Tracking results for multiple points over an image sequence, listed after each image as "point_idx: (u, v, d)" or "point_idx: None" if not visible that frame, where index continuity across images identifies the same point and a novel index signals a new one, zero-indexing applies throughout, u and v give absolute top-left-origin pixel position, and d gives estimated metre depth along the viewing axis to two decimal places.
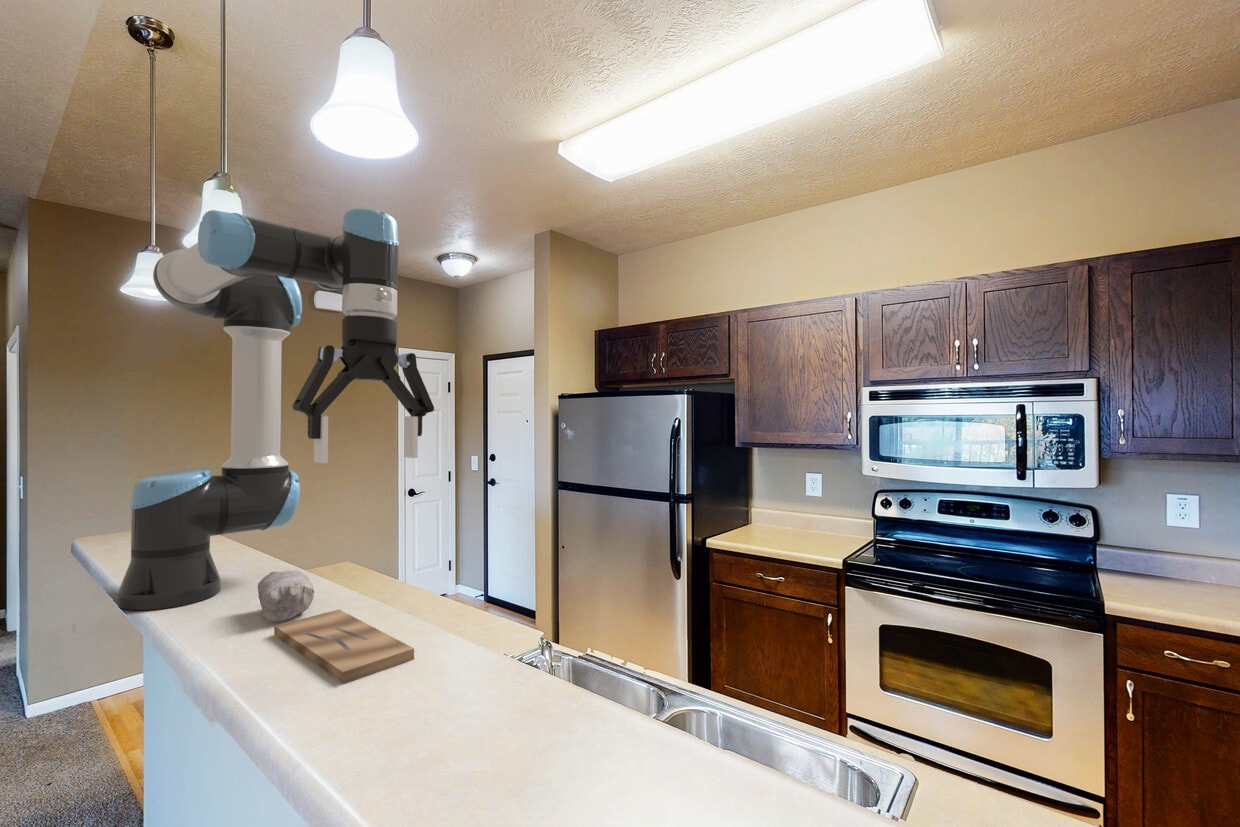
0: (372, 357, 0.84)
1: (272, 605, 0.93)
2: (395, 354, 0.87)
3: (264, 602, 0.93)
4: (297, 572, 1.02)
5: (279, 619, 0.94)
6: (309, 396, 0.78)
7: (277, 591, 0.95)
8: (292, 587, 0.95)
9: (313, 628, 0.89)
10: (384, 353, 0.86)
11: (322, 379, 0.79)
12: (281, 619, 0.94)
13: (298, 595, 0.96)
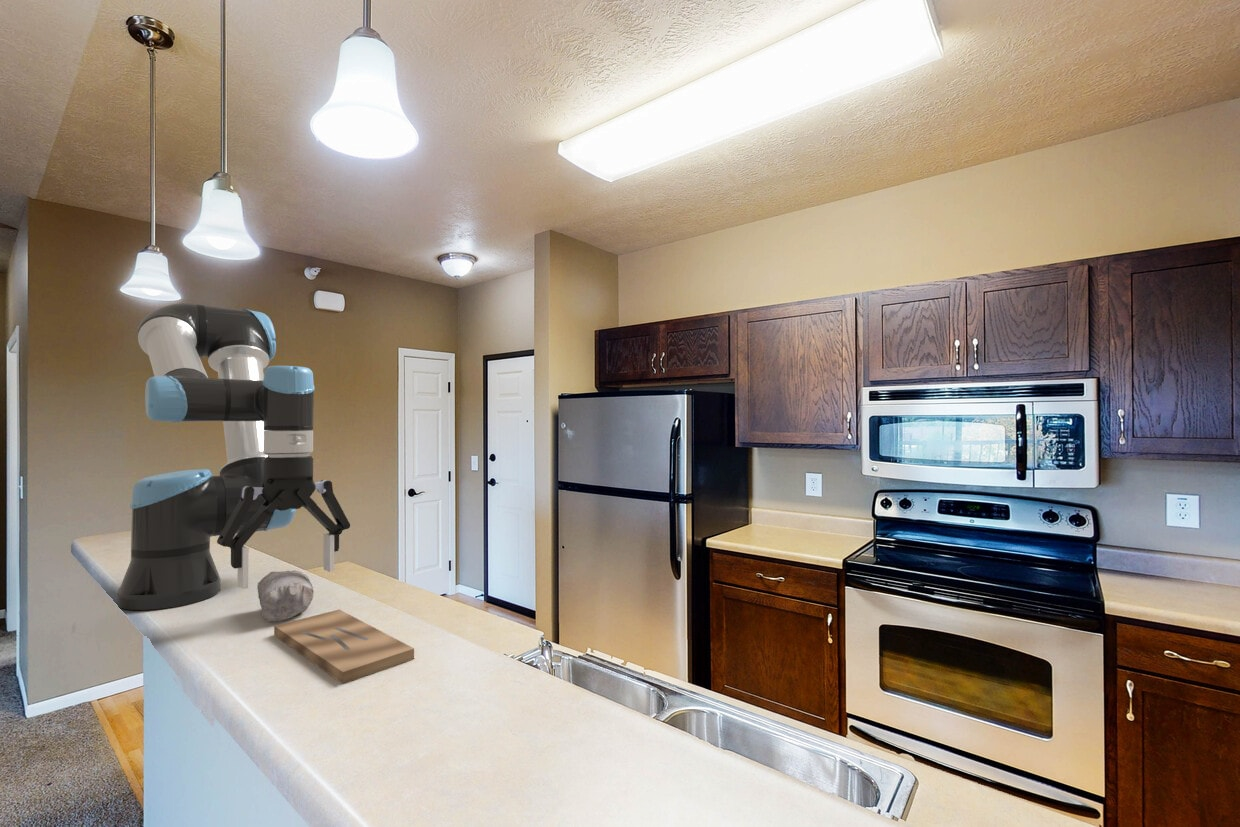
0: (290, 490, 0.98)
1: (272, 605, 0.94)
2: (312, 484, 1.01)
3: (263, 602, 0.93)
4: (297, 572, 1.02)
5: (278, 619, 0.94)
6: (230, 533, 0.91)
7: (277, 591, 0.95)
8: (292, 587, 0.95)
9: (313, 628, 0.89)
10: (301, 485, 1.00)
11: (242, 517, 0.93)
12: (280, 619, 0.94)
13: (297, 595, 0.96)
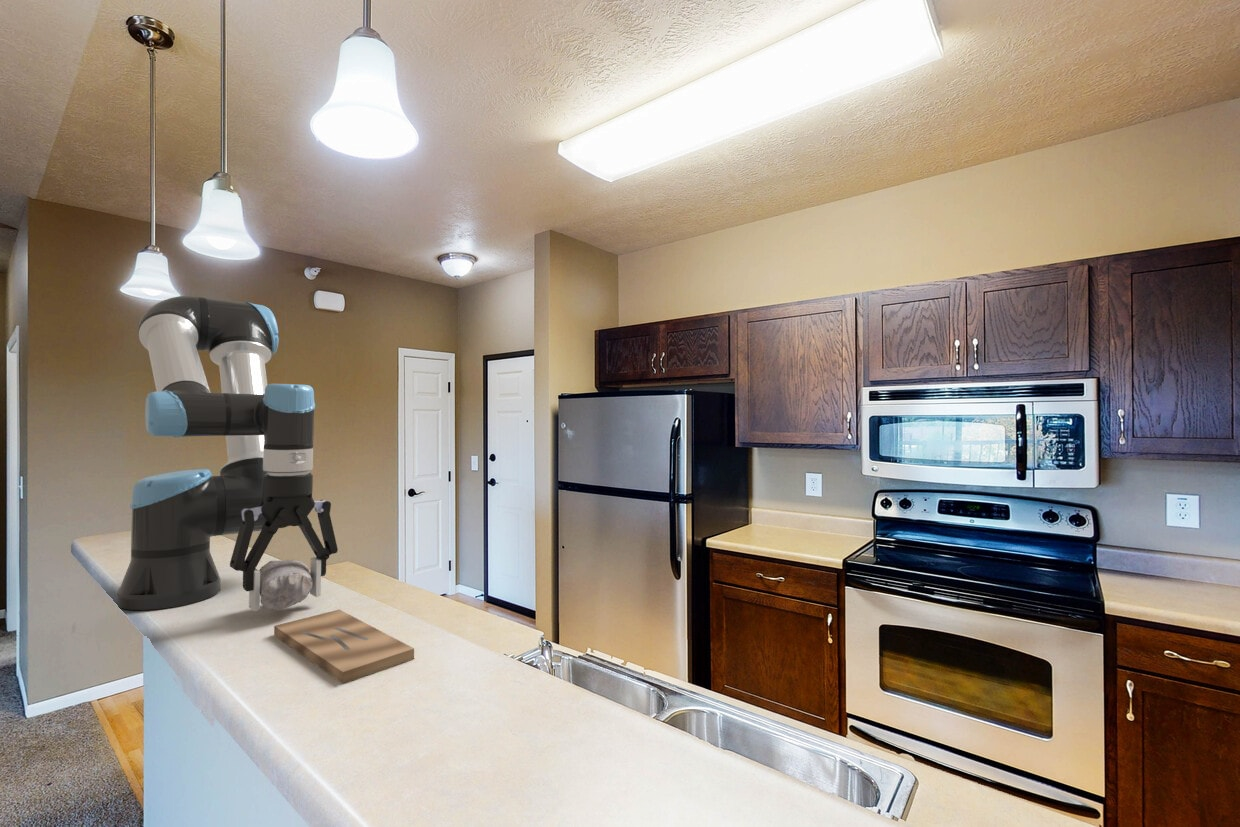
0: (289, 508, 0.99)
1: (271, 594, 0.94)
2: (312, 502, 1.01)
3: (263, 591, 0.94)
4: (296, 561, 1.03)
5: (278, 608, 0.95)
6: (241, 557, 0.93)
7: (276, 580, 0.95)
8: (291, 576, 0.96)
9: (313, 628, 0.89)
10: (301, 500, 1.00)
11: (248, 540, 0.94)
12: (280, 608, 0.95)
13: (296, 584, 0.97)
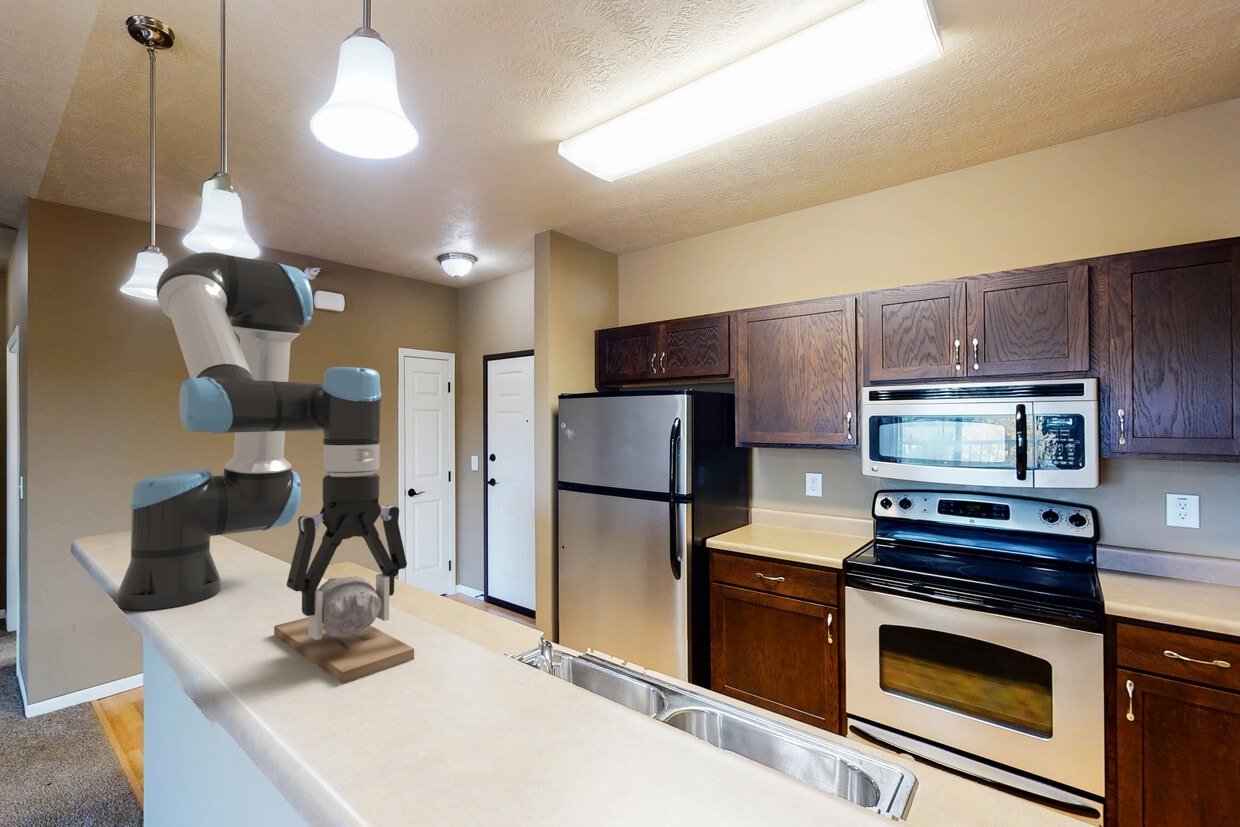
0: (353, 515, 0.83)
1: (337, 619, 0.78)
2: (378, 507, 0.86)
3: (327, 615, 0.78)
4: (359, 578, 0.87)
5: (344, 635, 0.79)
6: (300, 575, 0.77)
7: (341, 601, 0.79)
8: (359, 597, 0.80)
9: None
10: (367, 506, 0.84)
11: (309, 554, 0.78)
12: (346, 635, 0.79)
13: (365, 606, 0.81)
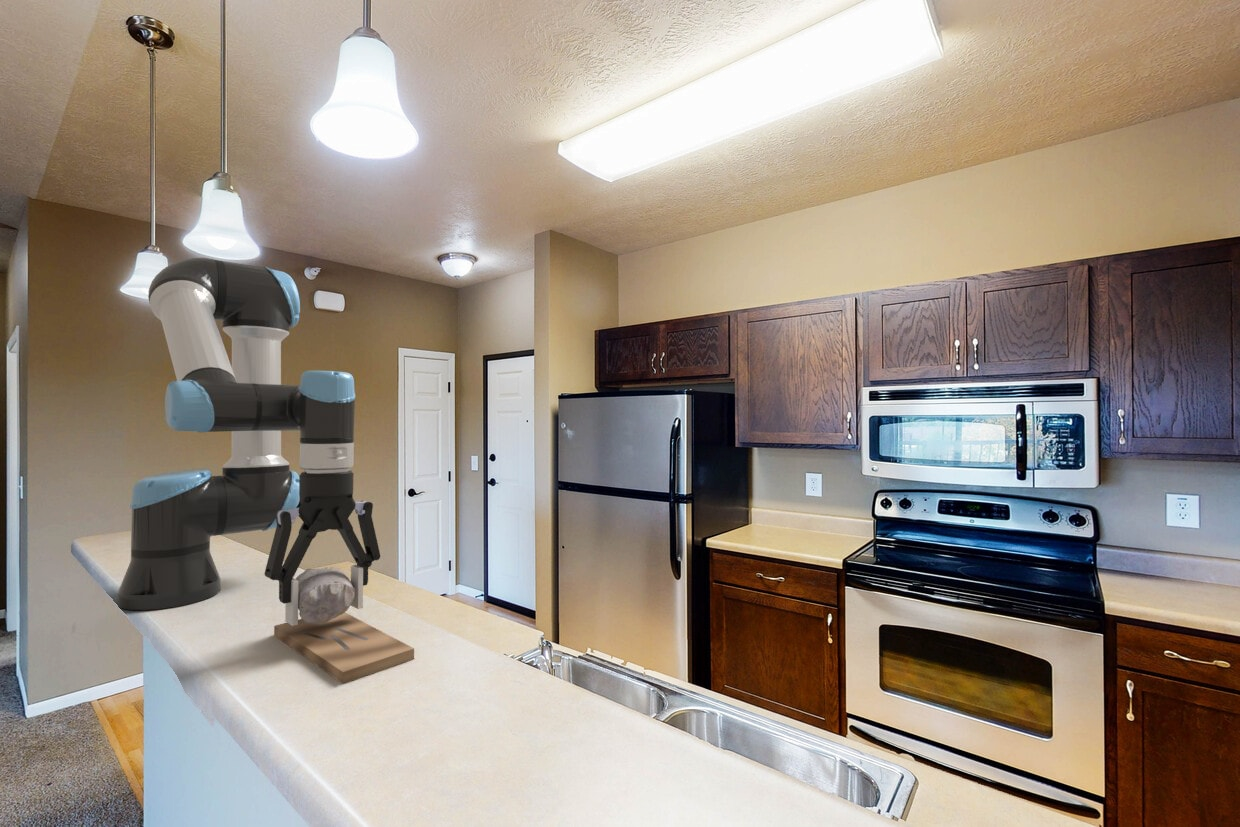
0: (328, 509, 0.88)
1: (311, 606, 0.84)
2: (352, 502, 0.91)
3: (302, 602, 0.83)
4: (335, 569, 0.93)
5: (318, 621, 0.84)
6: (277, 565, 0.83)
7: (316, 590, 0.85)
8: (333, 585, 0.86)
9: (313, 628, 0.89)
10: (342, 501, 0.90)
11: (285, 545, 0.84)
12: (321, 621, 0.85)
13: (339, 594, 0.86)
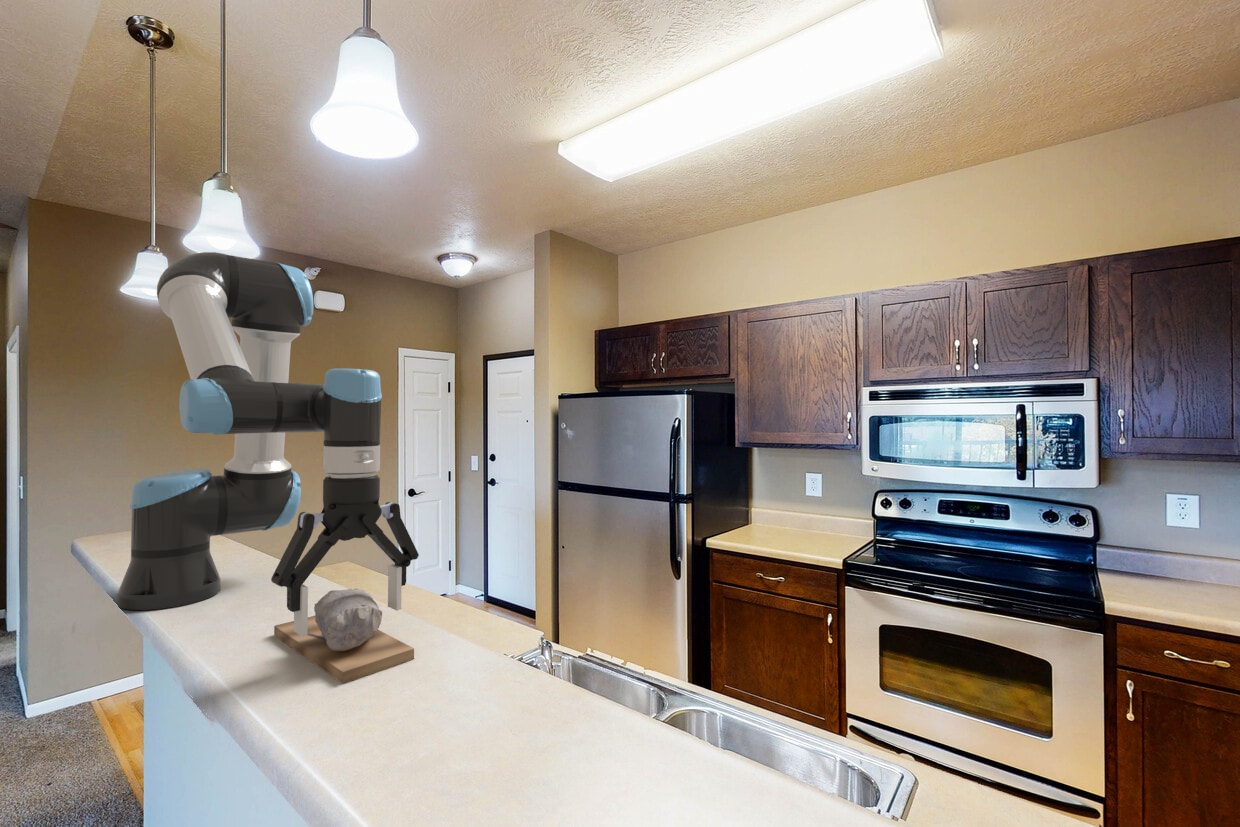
0: (354, 516, 0.83)
1: (338, 632, 0.78)
2: (378, 508, 0.86)
3: (329, 628, 0.78)
4: (359, 590, 0.87)
5: (346, 648, 0.79)
6: (288, 570, 0.76)
7: (343, 614, 0.79)
8: (361, 609, 0.80)
9: (313, 628, 0.89)
10: (366, 510, 0.84)
11: (301, 550, 0.77)
12: (348, 648, 0.79)
13: (367, 619, 0.81)
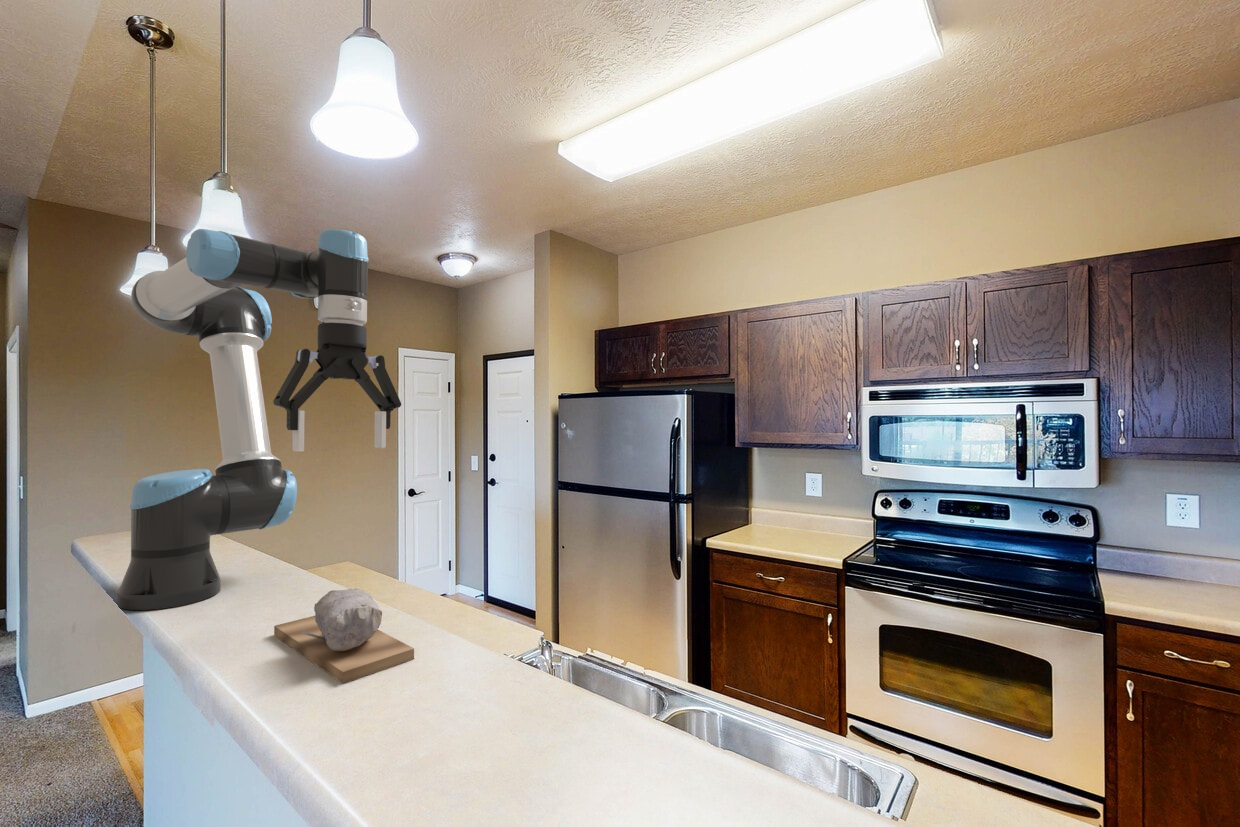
0: (344, 359, 0.96)
1: (338, 632, 0.78)
2: (365, 356, 0.99)
3: (329, 628, 0.78)
4: (359, 590, 0.87)
5: (346, 648, 0.79)
6: (287, 393, 0.90)
7: (343, 614, 0.79)
8: (361, 609, 0.80)
9: (313, 628, 0.89)
10: (355, 355, 0.98)
11: (299, 378, 0.91)
12: (348, 648, 0.79)
13: (367, 619, 0.81)
